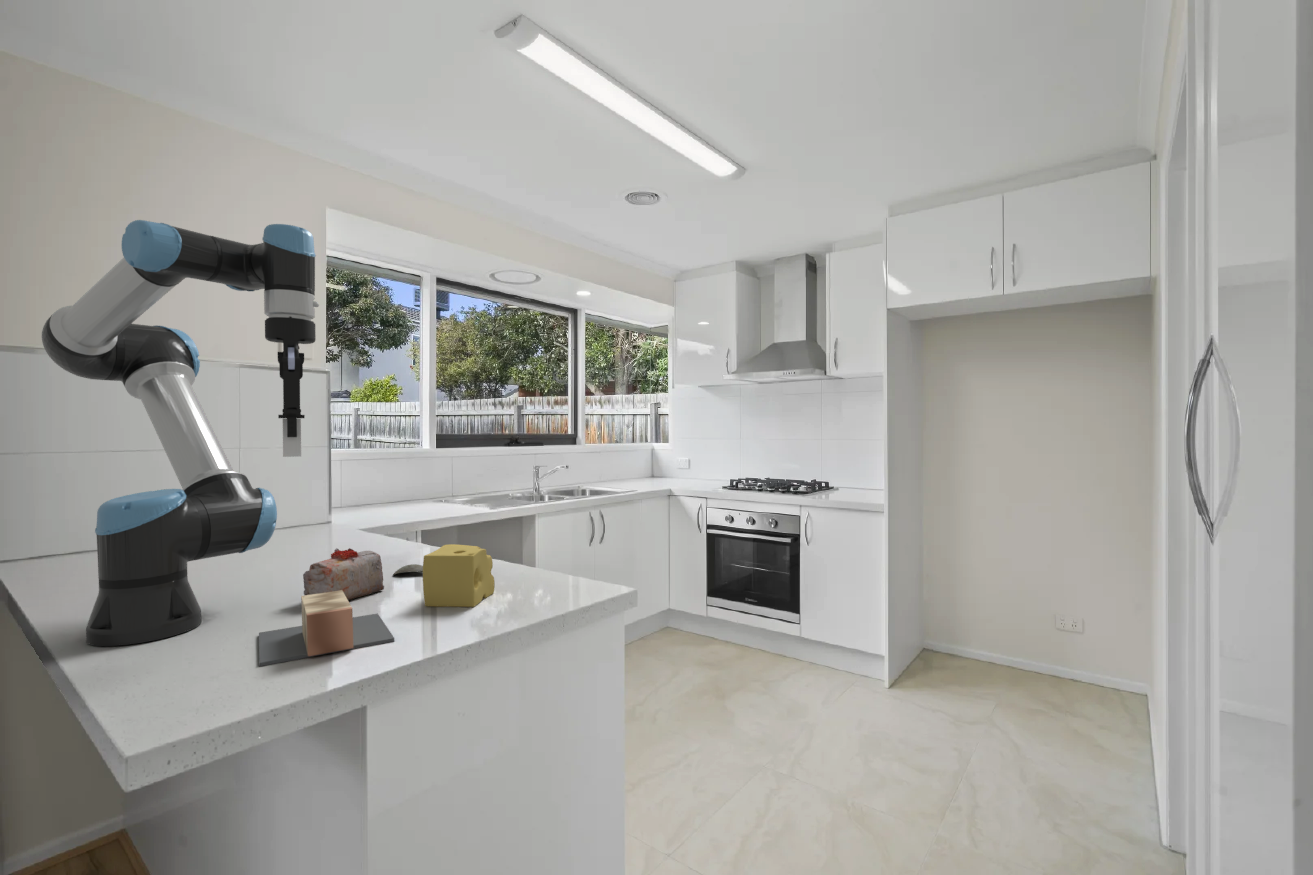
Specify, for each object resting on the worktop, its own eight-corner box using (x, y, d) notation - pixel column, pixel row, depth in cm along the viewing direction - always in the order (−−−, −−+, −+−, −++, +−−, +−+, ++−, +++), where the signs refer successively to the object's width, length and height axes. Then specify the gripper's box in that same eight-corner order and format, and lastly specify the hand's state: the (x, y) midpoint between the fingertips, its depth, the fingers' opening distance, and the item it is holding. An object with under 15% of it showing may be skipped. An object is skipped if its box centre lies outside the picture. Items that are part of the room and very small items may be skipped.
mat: (259, 666, 90) (259, 662, 90) (258, 635, 103) (258, 632, 103) (394, 641, 99) (394, 637, 99) (377, 616, 113) (377, 613, 113)
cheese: (495, 593, 128) (494, 543, 127) (474, 608, 117) (473, 555, 117) (445, 592, 129) (444, 543, 128) (420, 608, 118) (419, 554, 118)
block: (306, 615, 92) (301, 595, 103) (308, 656, 92) (302, 632, 103) (352, 608, 95) (342, 590, 106) (353, 647, 95) (343, 625, 106)
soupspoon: (410, 574, 150) (387, 581, 144) (409, 560, 150) (385, 567, 144) (478, 580, 139) (455, 588, 134) (477, 565, 139) (454, 573, 134)
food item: (328, 609, 118) (326, 557, 118) (300, 605, 121) (298, 554, 121) (387, 591, 130) (386, 544, 130) (360, 587, 134) (359, 541, 134)
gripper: (316, 315, 105) (318, 458, 105) (313, 325, 116) (315, 453, 117) (263, 311, 101) (265, 459, 101) (265, 322, 112) (267, 454, 113)
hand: (292, 456), depth 109 cm, fingers closed
